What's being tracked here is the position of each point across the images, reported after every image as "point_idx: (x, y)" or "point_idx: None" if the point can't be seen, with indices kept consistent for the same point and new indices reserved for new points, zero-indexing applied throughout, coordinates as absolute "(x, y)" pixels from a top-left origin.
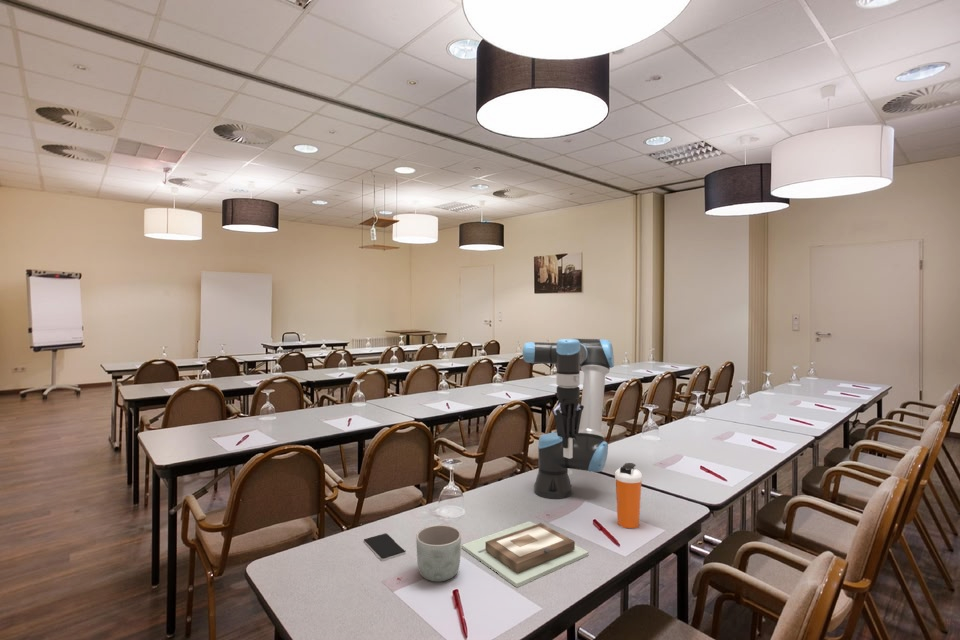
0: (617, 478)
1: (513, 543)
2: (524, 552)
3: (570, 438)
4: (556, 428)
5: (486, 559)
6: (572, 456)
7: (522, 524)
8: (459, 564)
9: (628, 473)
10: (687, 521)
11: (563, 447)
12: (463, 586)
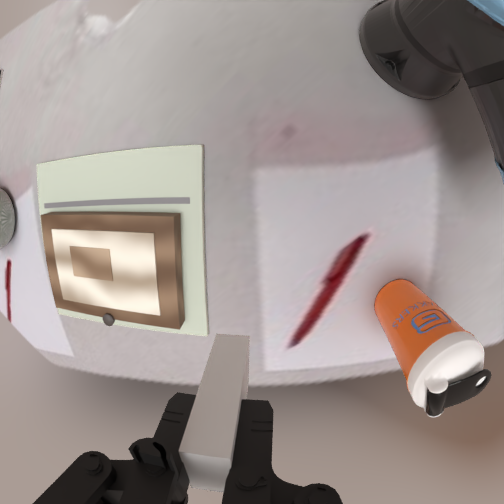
0: (417, 365)
1: (70, 257)
2: (73, 295)
3: (209, 489)
4: (37, 501)
5: None
6: (247, 385)
7: (172, 150)
8: (7, 239)
9: (425, 404)
10: None
11: (176, 400)
12: (16, 261)
